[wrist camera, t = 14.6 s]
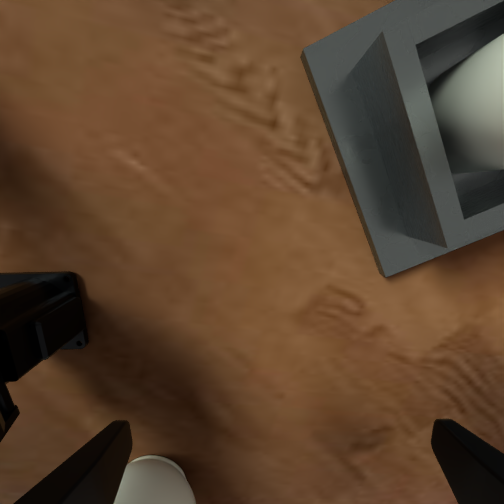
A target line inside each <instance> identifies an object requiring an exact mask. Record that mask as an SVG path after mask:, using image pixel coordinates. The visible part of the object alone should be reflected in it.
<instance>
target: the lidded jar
mask: <svg viewBox="0 0 504 504" xmlns="http://www.w3.org/2000/svg"><path fill="white" fill-rule="evenodd" d="M114 504H196V500H195V497H194V494H193V491H192V489H191V487H190V485H189V483H188V481H187V480H186V476H185V474H184V472H183V470H182V469H181V468H180V467H179V466H178V465H177V464H176V463H175V462H174V461H172V460H170V459H168V458H165V457H162V456H157V455H146V456H141V457H138V458H136V459H134V460H133V461H131V462H130V463H128V464H127V466H126V469H125V472H124V475H123V478H122V481H121V484H120V487H119V490H118V493H117V496H116V498H115V501H114Z"/></svg>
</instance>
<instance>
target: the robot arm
mask: <svg viewBox="0 0 504 504" xmlns="http://www.w3.org/2000/svg"><path fill="white" fill-rule="evenodd" d="M67 276H68V277H69V279H70V281H69V280H68V279H67ZM80 341H81V342H82V343H81V342H80ZM87 344H88V336H87V331H86V324H85V319H84V313H83V308H82V303H81V299H80V294H79V289H78V284H77V278H76V275H75V274H74V273H72V272H23V273H0V442H1V441H2V439H3V438H4V436H5V435H6V433H7V432H8V430H9V429H10V427H11V426H12V424H13V423H14V421H15V420H16V418H17V417H18V415H19V414H20V412H19V409H18V407H17V405H14V403H13V401H12V398H11V396H10V393H9V391H8V388H7V386H6V384H7V383H8V382H14V381H17V380H19V379H20V378H21V377H22V376H24V375H25V374H26V373H27V372H29V371H30V370H31V369H32V368H34V367H35V366H36V365H38V364H39V363H40V362H41V361H43V360H46V359H48V358H49V357H50V356H52V355H53V354H54V353H55V352H57V351H58V350H59V349H82V348H84V347H85V346H86V345H87ZM431 445H432V449H433V452H434V454H435V456H436V458H437V460H438V462H439V464H440V466H441V468H442V470H443V473H444V475H445V477H446V479H447V481H448V483H449V485H450V487H451V489H452V491H453V493H454V495H455V497H456V500H457V502H458V504H504V454H503V453H502V452H500V451H499V450H497V449H496V448H494V447H493V446H491V445H490V444H488V443H487V442H485V441H484V440H482V439H481V438H479V437H478V436H476V435H475V434H473V433H472V432H470V431H469V430H467V429H466V428H464V427H463V426H461V425H460V424H458V423H457V422H455V421H453V420H451V419H436V420H435V421H434V425H433V431H432V438H431ZM131 450H132V436H131V430H130V424H129V422H128V421H126V420H116V421H113V422H112V423H110V424H109V425H108V426H107V427H106V428H104V429H103V430H102V431H101V432H99V433H98V434H97V435H96V436H95V437H93V438H92V439H91V440H90V441H89V442H87V443H86V444H85V445H84V446H83V447H81V448H80V449H79V450H78V451H76V452H75V453H74V454H73V455H72V456H70V457H69V458H68V459H67V460H66V461H64V462H63V463H62V464H61V465H60V466H58V467H57V468H56V469H55V470H53V471H52V472H51V473H50V474H49V475H47V476H46V477H45V478H44V479H43V480H41V481H40V482H39V483H38V484H37V485H35V486H34V487H33V488H32V489H30V490H29V491H28V492H27V493H26V494H24V495H23V496H22V497H21V498H20V499H18V500H17V501H16V502H15V503H14V504H114V501H115V498H116V496H117V493H118V490H119V487H120V484H121V481H122V478H123V475H124V472H125V469H126V466H127V463H128V460H129V457H130V454H131Z"/></svg>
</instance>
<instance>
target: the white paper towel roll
mask: <svg viewBox="0 0 504 504" xmlns="http://www.w3.org/2000/svg"><path fill="white" fill-rule="evenodd" d="M428 92H429V96H430V99H431V103H432V107H433V110H434V114H435V117H436V121H437V124H438V128H439V132H440V135H441V139H442V142H443V146H444V149H445V153H446V157H447V160H448V164H449V167H450V171H451V173H469V172H481V171H492V170H504V34H502V35H501V36H499V37H497V38H496V39H494V40H493V41H491V42H490V43H488V44H487V45H485V46H483V47H482V48H480V49H479V50H477V51H476V52H474V53H472V54H471V55H469V56H468V57H466V58H465V59H463V60H461V61H460V62H458V63H457V64H455V65H454V66H452V67H451V68H449V69H447V70H446V71H445V72H443V73H442V74H441V75H440V76H439V77H437V78H436V79H435V80H434V82H433V83H432V84H431V85H430V86H429V88H428Z"/></svg>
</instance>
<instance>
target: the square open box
mask: <svg viewBox="0 0 504 504" xmlns="http://www.w3.org/2000/svg"><path fill="white" fill-rule="evenodd" d="M502 34H504V0H395V1H393V2H391V3H389V4H387V5H386V6H384V7H382V8H380V9H378V10H376V11H374V12H372V13H370V14H368V15H367V16H365V17H363V18H361V19H359V20H357V21H355V22H353V23H351V24H349V25H348V26H346V27H344V28H342V29H340V30H338V31H336V32H334V33H332V34H330V35H329V36H327V37H325V38H323V39H321V40H319V41H317V42H315V43H313V44H311V45H310V46H308V47H306V48H304V49H303V51H302V54H301V60H302V63H303V65H304V68H305V71H306V73H307V76H308V79H309V82H310V84H311V87H312V90H313V93H314V95H315V98H316V101H317V103H318V106H319V109H320V112H321V114H322V117H323V120H324V123H325V125H326V128H327V131H328V134H329V136H330V139H331V142H332V144H333V147H334V150H335V153H336V155H337V158H338V161H339V164H340V166H341V169H342V172H343V174H344V177H345V180H346V183H347V185H348V188H349V191H350V194H351V196H352V199H353V202H354V204H355V207H356V210H357V213H358V215H359V218H360V221H361V224H362V226H363V229H364V232H365V234H366V237H367V240H368V243H369V245H370V248H371V251H372V254H373V256H374V259H375V262H376V264H377V267H378V270H379V273H380V274H382V275H383V276H385V277H388V276H391V275H393V274H396V273H398V272H401V271H403V270H406V269H408V268H411V267H413V266H416V265H418V264H421V263H423V262H426V261H428V260H431V259H433V258H435V257H438V256H440V255H443V254H445V253H448V252H450V251H453V250H455V249H458V248H460V247H463V246H465V245H468V244H470V243H473V242H475V241H478V240H480V239H483V238H485V237H487V236H490V235H492V234H495V233H497V232H500V231H502V230H504V170H492V171H481V172H469V173H451V171H450V167H449V164H448V160H447V157H446V153H445V149H444V146H443V142H442V139H441V135H440V132H439V128H438V124H437V121H436V117H435V114H434V110H433V107H432V103H431V99H430V96H429V92H428V88H429V86H430V85H431V84H432V83H433V82H434V80H435V79H436V78H437V77H439V76H440V75H441V74H442V73H443V72H445V71H446V70H447V69H449V68H451V67H452V66H454V65H455V64H457V63H458V62H460V61H461V60H463V59H465V58H466V57H468V56H469V55H471V54H472V53H474V52H476V51H477V50H479V49H480V48H482V47H483V46H485V45H487V44H488V43H490V42H491V41H493V40H494V39H496V38H497V37H499V36H501V35H502Z"/></svg>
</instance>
